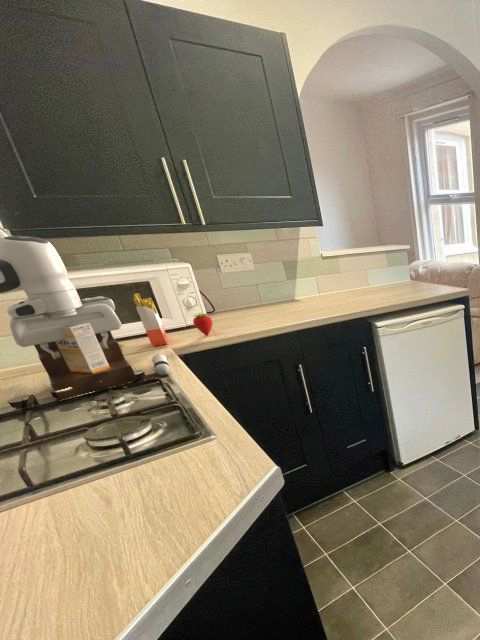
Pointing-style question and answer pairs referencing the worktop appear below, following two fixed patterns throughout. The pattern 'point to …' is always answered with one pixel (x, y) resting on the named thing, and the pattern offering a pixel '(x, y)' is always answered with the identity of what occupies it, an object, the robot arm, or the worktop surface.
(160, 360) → the torpedo
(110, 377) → the step shelf
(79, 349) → the supplement box
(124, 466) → the worktop surface
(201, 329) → the strawberry
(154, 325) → the french fries container
